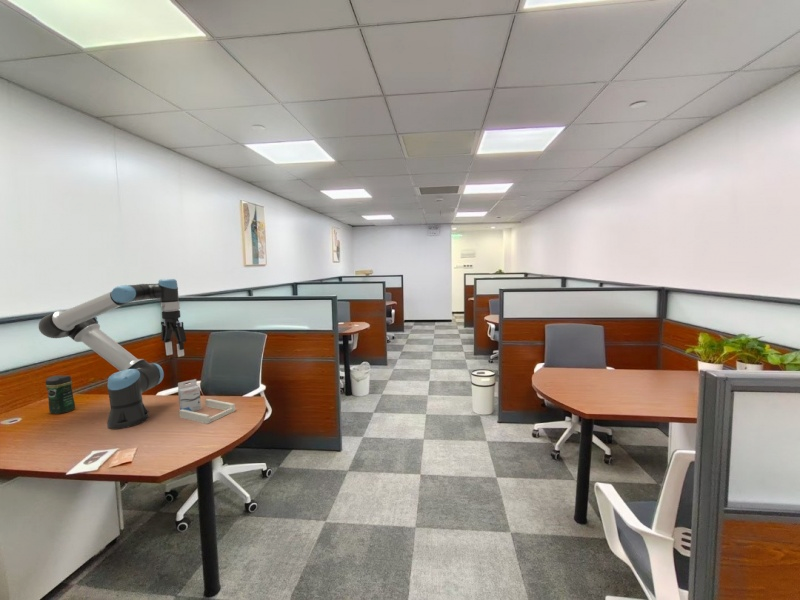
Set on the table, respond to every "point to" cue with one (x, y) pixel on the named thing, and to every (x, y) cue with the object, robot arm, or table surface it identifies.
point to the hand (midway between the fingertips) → (175, 355)
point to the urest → (206, 418)
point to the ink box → (189, 395)
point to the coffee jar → (60, 394)
